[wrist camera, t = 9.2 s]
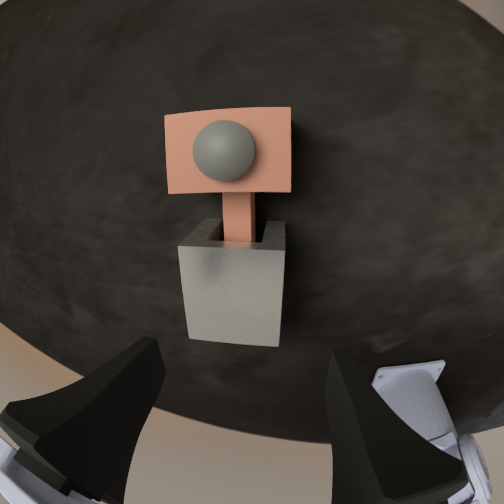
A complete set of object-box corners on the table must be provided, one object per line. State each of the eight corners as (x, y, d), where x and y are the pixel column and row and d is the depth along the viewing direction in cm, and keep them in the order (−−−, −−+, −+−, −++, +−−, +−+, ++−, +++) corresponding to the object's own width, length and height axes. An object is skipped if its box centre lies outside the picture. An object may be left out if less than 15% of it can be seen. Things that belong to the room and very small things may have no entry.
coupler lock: (280, 299, 20) (278, 346, 15) (210, 294, 21) (189, 338, 16) (285, 221, 18) (284, 250, 13) (205, 218, 19) (177, 245, 14)
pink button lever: (285, 313, 21) (283, 364, 16) (208, 309, 21) (187, 356, 16) (288, 118, 16) (290, 105, 11) (195, 122, 16) (159, 114, 11)
